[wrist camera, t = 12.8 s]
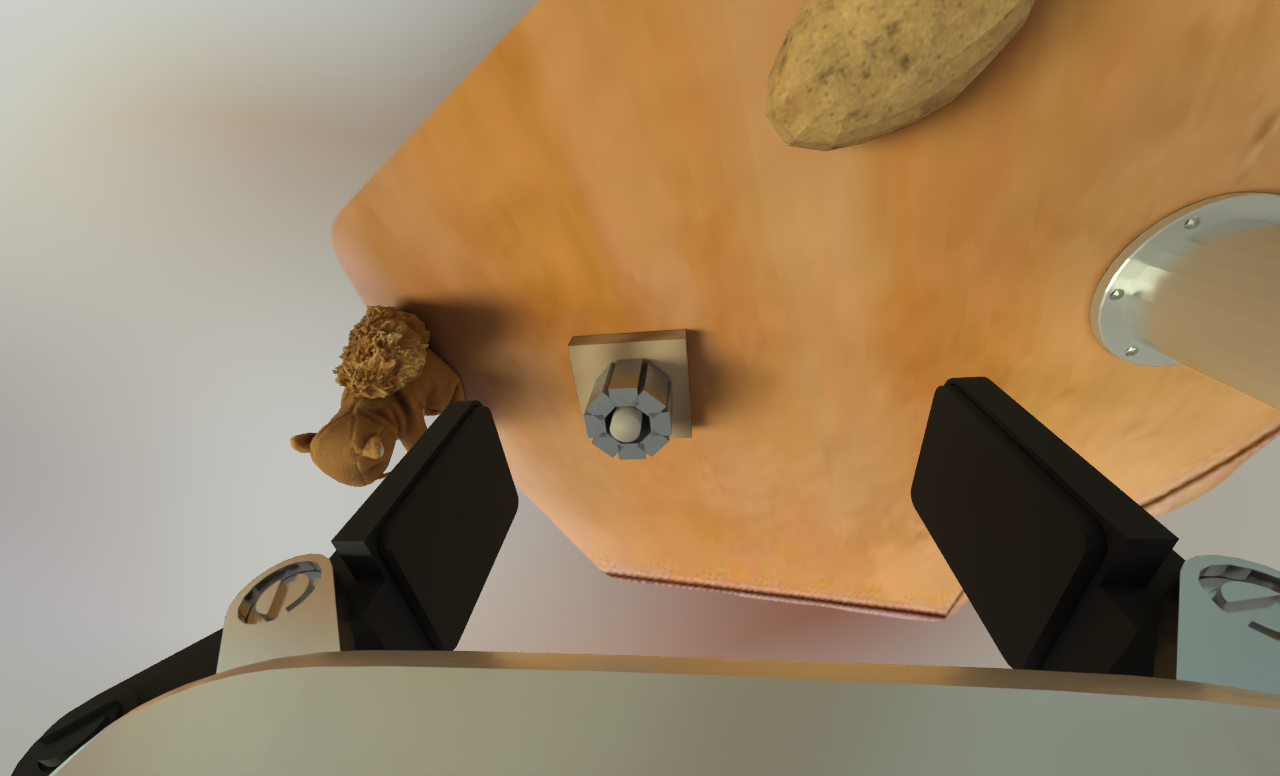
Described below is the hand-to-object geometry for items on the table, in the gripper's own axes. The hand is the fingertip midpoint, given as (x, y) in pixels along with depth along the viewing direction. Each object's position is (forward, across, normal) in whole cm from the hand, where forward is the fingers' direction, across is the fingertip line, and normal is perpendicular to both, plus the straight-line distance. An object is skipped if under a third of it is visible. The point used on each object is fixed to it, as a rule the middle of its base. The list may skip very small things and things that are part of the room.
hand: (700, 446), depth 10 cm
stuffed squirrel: (+29, +27, +10) cm, 40 cm away
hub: (+26, +6, +14) cm, 30 cm away
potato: (+28, -11, -9) cm, 32 cm away
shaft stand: (+28, +6, +14) cm, 32 cm away
